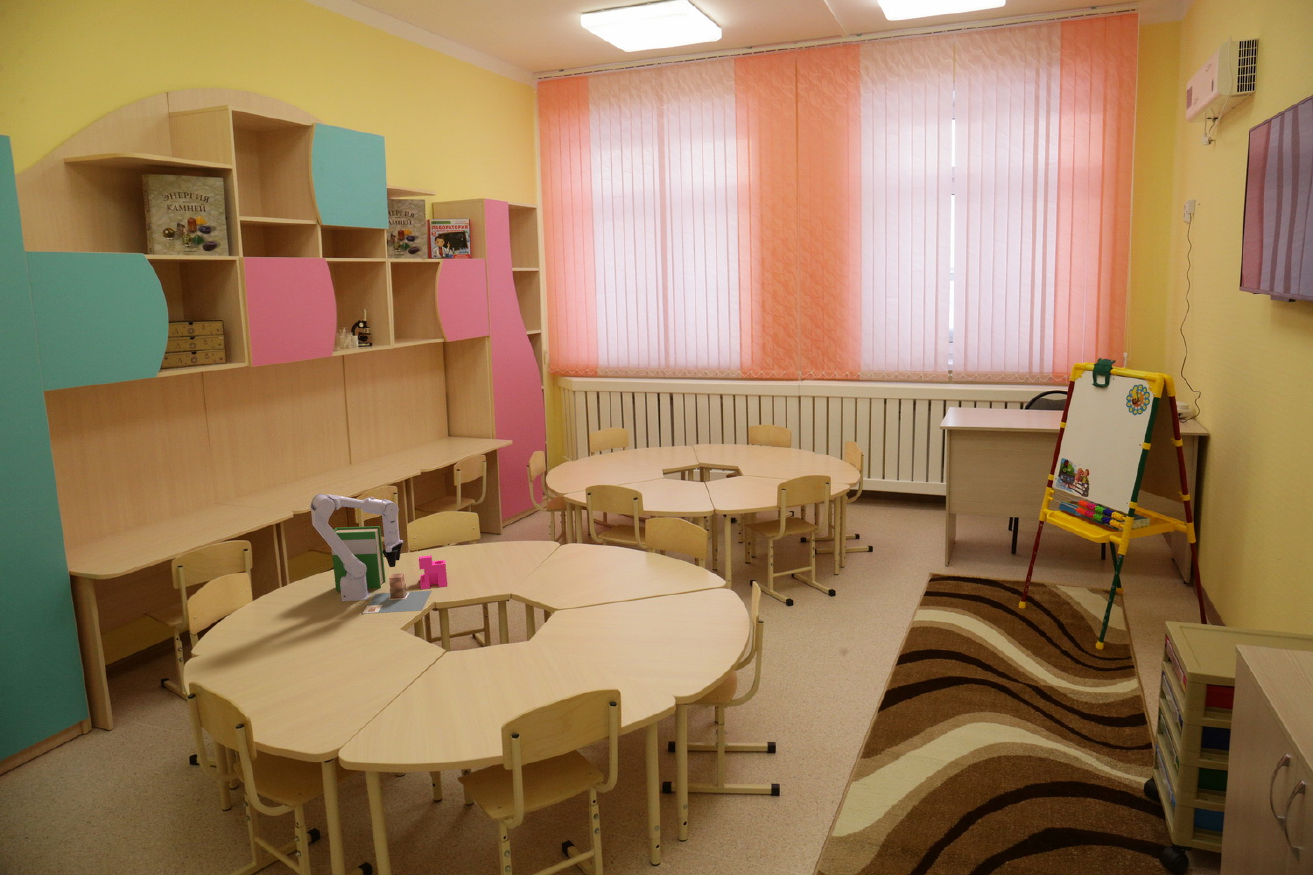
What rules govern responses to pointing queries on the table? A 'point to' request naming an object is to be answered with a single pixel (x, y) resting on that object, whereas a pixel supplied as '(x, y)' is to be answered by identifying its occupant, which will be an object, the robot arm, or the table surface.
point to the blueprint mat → (397, 602)
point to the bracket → (432, 572)
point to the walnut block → (398, 593)
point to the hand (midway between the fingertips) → (394, 563)
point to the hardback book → (362, 553)
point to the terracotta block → (397, 581)
